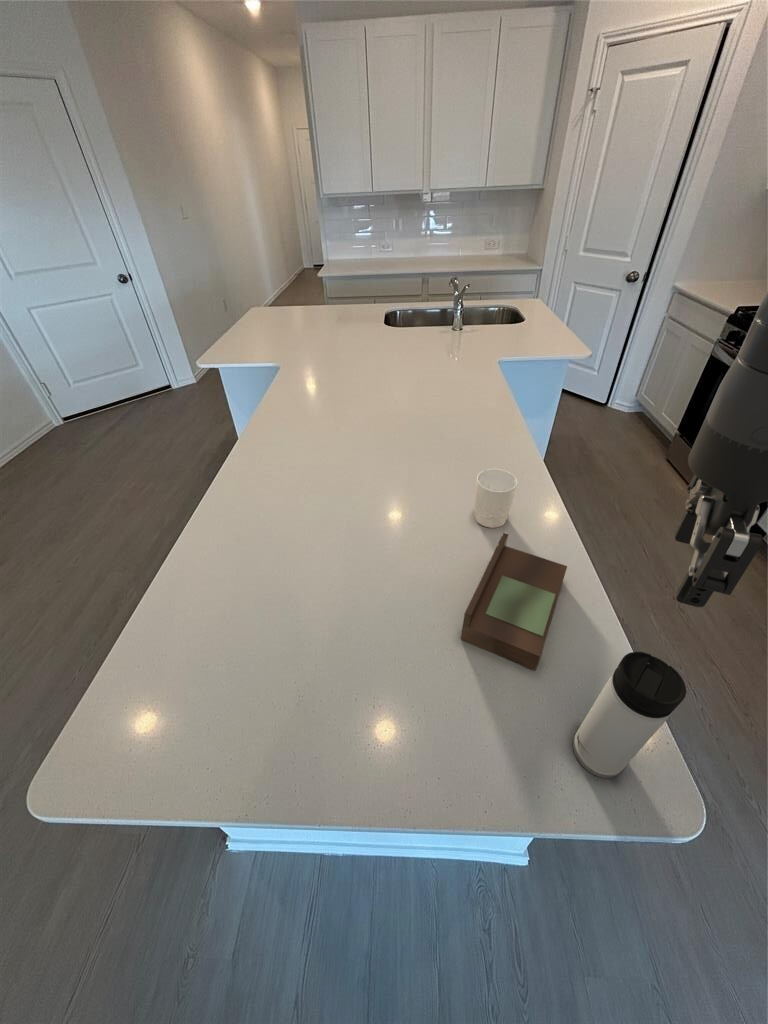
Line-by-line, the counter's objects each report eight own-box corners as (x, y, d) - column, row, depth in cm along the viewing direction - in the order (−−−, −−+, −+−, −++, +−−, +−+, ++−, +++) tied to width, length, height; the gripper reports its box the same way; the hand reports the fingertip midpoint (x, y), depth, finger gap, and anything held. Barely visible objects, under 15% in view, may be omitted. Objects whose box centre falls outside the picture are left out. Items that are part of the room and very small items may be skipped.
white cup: (511, 510, 95) (520, 472, 89) (506, 533, 90) (514, 495, 83) (475, 502, 97) (481, 465, 91) (467, 525, 92) (473, 487, 85)
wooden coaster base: (561, 580, 80) (571, 554, 75) (535, 670, 67) (544, 645, 62) (497, 559, 84) (503, 532, 80) (460, 639, 71) (464, 613, 67)
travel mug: (562, 756, 57) (610, 677, 44) (584, 718, 61) (634, 635, 48) (610, 792, 54) (677, 719, 41) (630, 750, 58) (698, 671, 45)
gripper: (862, 487, 26) (741, 640, 37) (810, 387, 36) (726, 532, 46) (714, 464, 29) (641, 613, 40) (702, 377, 39) (646, 515, 49)
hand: (687, 569), depth 43 cm, fingers open, 8 cm apart
